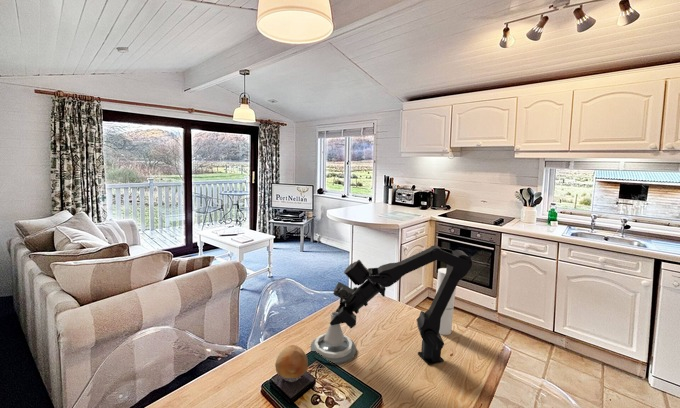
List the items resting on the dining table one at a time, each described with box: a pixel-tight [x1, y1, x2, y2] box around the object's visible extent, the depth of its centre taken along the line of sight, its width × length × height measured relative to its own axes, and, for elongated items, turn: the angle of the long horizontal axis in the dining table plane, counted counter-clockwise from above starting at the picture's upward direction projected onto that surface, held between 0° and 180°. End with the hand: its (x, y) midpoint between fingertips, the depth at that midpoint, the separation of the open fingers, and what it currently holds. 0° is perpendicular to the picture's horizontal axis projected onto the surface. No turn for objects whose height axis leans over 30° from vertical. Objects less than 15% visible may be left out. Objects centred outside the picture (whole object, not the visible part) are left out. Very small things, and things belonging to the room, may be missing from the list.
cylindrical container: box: [435, 267, 457, 336], centre depth 124 cm, size 7×7×25 cm
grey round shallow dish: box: [310, 332, 357, 365], centre depth 109 cm, size 16×16×3 cm
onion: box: [274, 344, 309, 378], centre depth 94 cm, size 10×10×10 cm
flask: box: [323, 311, 345, 346], centre depth 108 cm, size 7×7×10 cm
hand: (331, 321), depth 108 cm, fingers closed on flask, 3 cm apart
